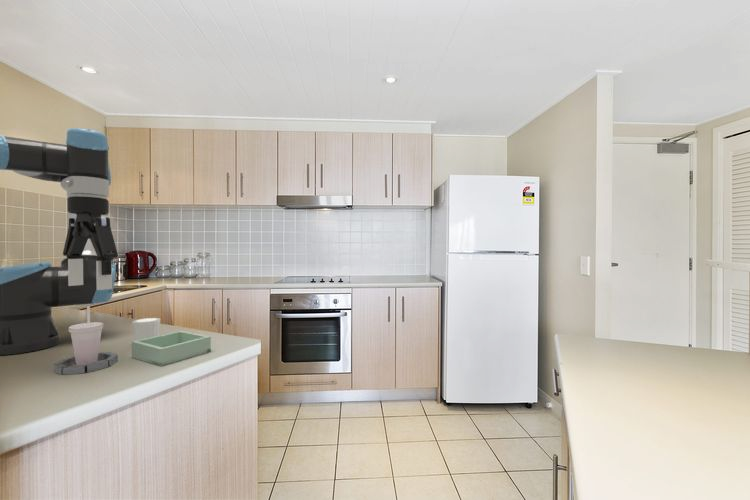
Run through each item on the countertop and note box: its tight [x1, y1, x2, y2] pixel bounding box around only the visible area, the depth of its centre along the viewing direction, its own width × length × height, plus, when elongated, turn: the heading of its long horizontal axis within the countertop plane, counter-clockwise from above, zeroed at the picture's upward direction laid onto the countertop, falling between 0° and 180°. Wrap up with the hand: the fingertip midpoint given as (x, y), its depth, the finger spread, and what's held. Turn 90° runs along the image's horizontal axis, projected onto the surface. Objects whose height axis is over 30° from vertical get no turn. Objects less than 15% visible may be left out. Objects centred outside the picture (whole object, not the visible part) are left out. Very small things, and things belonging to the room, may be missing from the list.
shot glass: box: [132, 317, 161, 341], centre depth 101 cm, size 7×7×7 cm
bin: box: [131, 330, 212, 367], centre depth 91 cm, size 13×13×4 cm
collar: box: [53, 351, 118, 376], centre depth 83 cm, size 11×11×2 cm
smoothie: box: [68, 305, 104, 366], centre depth 83 cm, size 6×6×14 cm
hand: (89, 287), depth 83 cm, fingers open, 13 cm apart
